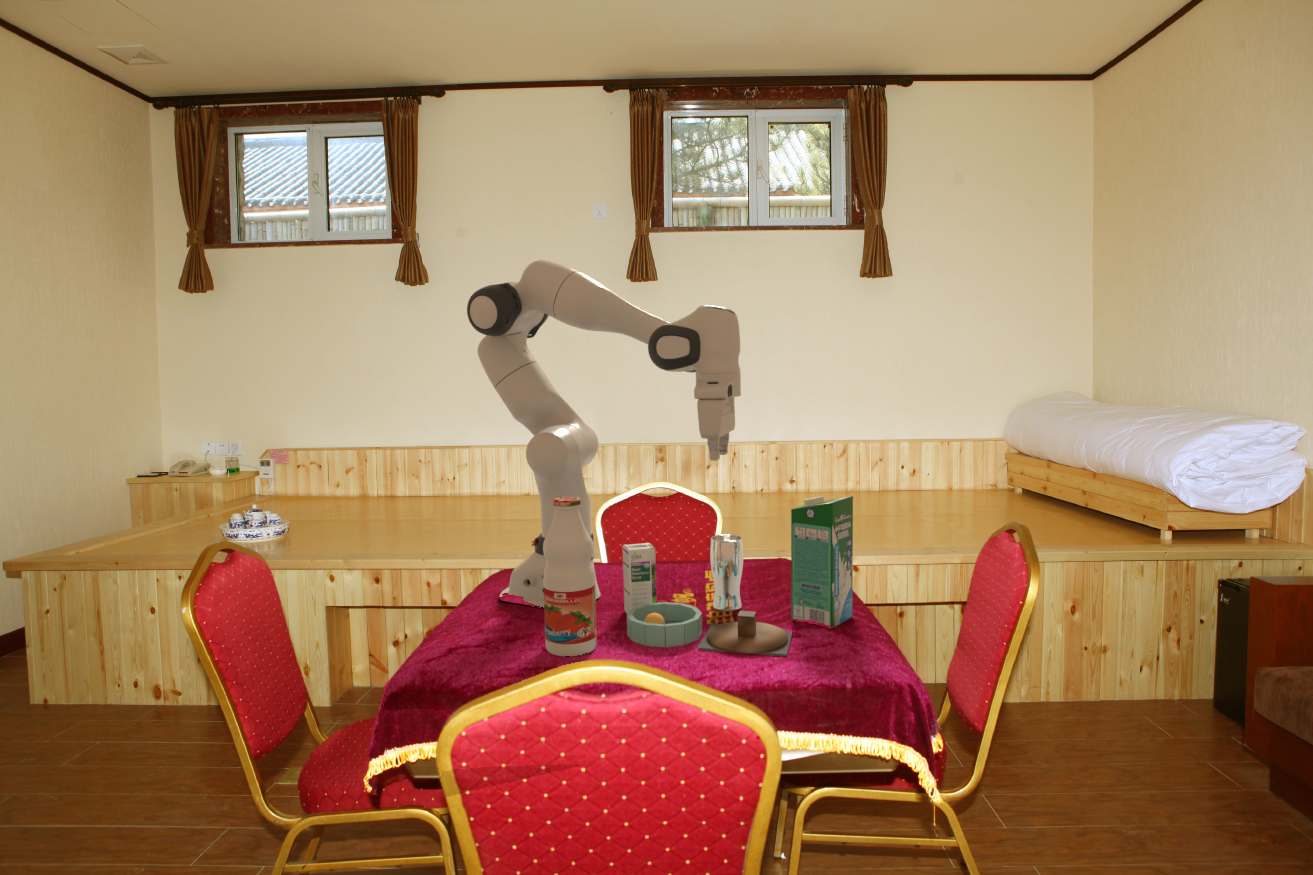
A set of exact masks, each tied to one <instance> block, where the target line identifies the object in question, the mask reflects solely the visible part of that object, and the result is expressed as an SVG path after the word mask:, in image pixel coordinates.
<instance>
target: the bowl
mask: <svg viewBox="0 0 1313 875" xmlns="http://www.w3.org/2000/svg"><path fill="white" fill-rule="evenodd" d="M651 613H658V614H660V615H661V616H662V617H663V618H664V621H665V624H653V623H646V622H644V620H645V618H646V617H647V615H649V614H651ZM701 633H702V634H703V613H702V611H700V610H699V608H697V607H696V606H693V605H690V604H686V603H682V602H669V601H667V602H665V601H663V602H657V603H651V604H644V605H641V606H638V607H635V608H632V609H631V610H630V611H629V612H628V614H627V613H626V634H627V637H628V638H629V637H630V638H629V640H630V641H631V640H632V641H631V642H633V641H634V642H633V643H636V644H639V645H641V646H645V647H658V648H670V647H680V646H686V645H689V644H691V643H694V642H696V641H698V640H700V638H701V636H702V634H701ZM700 635H701V636H700ZM699 637H700V638H699ZM697 639H698V640H697Z"/></svg>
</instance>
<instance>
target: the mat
mask: <svg viewBox="0 0 1313 875" xmlns="http://www.w3.org/2000/svg"><path fill="white" fill-rule="evenodd" d="M717 625H718V624H710V625H709V628H708V629H707V630H706V633H705V635H704V636H703V638H702V640H701V642H700V643H699V645H698V646H697V650H698V651H709V652H710V651H711V652H722V653H730V652H729V651H725V650H722V649H719V648H716V647H714V646H712V645H711V644H710V643H709V642H708V641H707V632H708V631H709V630H710V629H711V628H712V627H714V626H717ZM782 629H783V630H784V631H785V630H787V631H785V632H786V633H787V632H788V630H789V629H787V628H782ZM787 635H788V641H787V643H786V644H785V645H784V646H783V647H781V648H779V649H777V650H773V651H769V652H763V653H746V655H747V654H748V655H759V656H760V655H761V656H775V657H776V656H777V657H785V658H786V657H788V653H789V649H790V646H791V642H792V638H793V634H792V633H789V632H788V633H787ZM791 637H792V638H791ZM732 653H735V652H732Z"/></svg>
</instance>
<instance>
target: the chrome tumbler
mask: <svg viewBox="0 0 1313 875" xmlns="http://www.w3.org/2000/svg"><path fill="white" fill-rule="evenodd" d="M743 547H744V546H743V537H742V536H740V535H738V534H731V533H730V534H729V533H726V534H716V535H713V536H711V537H710V549H709V550H710V552H709V554H710V557H709V558H710V561H709V562H710V569H711V576H712V579H713V586H714V597H713V603H712V608H713V609H715V610H717V611H721V612H733V611H738V610H741V609H742V600H741V595H740V594H741V593H740V590H741V588H740V586H741V579H742V574H743V566H744V548H743Z"/></svg>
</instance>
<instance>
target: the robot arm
mask: <svg viewBox="0 0 1313 875" xmlns="http://www.w3.org/2000/svg"><path fill="white" fill-rule="evenodd" d="M466 315H467V318H468V322H469V324H471V326H472V327H473V329H474V330H475V331H477V332H478V333H480V334H481V335H485V336H484V337H482V339H481V341H480V342H479V343H478V347H477V355H478V359H479V360H480V364H481V366H482V367H483V370H484V372H485V374H486V375H487V377H488V380H489V381H490V383H491V385H492V386H493V388H494V390H495V391H496V392H497V394H498V396H499V397H500V398H501V400H502V403H504V405H505V407H506V408H507V410H508V411H509V413H510V414H511V416H512V418H513V419H515V420H516V421H517V422H518V423H520V424H521V425H522V426H524V427H525V428H526V429H527V430H528V431H529V432H530V433H531V434H532V438H531V439H530V440H528V441H529V442H528V444H527V446H526V450H525V458H526V462H527V464H528V466H529V468H530V469H531V470H532V473H533V474H534V475H533V476H534V480H535V484H536V488H537V492H538V495H539V504H540V517H541V518H540V519H541V520H540V521H541V533H540V534H539V535H538V536H537V537H535V538H534V540H532V541H531V543H532V544H531V547H534V552H532V553H531V554H530V555H529V556H528V557H526V558H525V559H524V560H523V561H522V562H520V563H519V564H518V565H516V567H515V568H514V569H513V570H512V572H511V574H510V579H509V585H508V587H506V588H505V589H503V590H502V591H501V593H500V594H499V597H502V596H503V595H502V594H504V593H508V594H509V595H515V596H521V597H524V598H523V600H524V601H526V602H528V603H531V604H534V605H537V606H540V607H539V608H541V607H543V609H544V587H543V576H544V569H545V567H546V559H545V556H544V552H543V543H544V540H545V538H546V536H547V535H548V533H549V530H550V528H551V525H552V521H553V518H554V514H555V508H554V505H553V500H554V499H555V498H558V497H567V496H571V497H579V498H580V502H581V504H580V508H579V512H580V515H581V518H582V521H583V523H584V526H585V528H586V530H587V532H588V533H589V535H590V536H591V538H592V541H593V553H592V557H591V563H592V566H593V568H594V573H595V574H596V570H595V562H594V559H595V540H594V533H593V531H592V508H591V506H592V504H591V503H592V502H591V497H590V496H589V494H588V491H587V488H586V484H585V479H584V474H583V468H584V467H587V466H588V465H589V464H590V463H592V461H593V460H594V458H595V457H596V454H597V452H598V450H599V439H598V436H597V434H596V432H595V431H594V429H593V428H591V427H590V426H589V425H588V424H587V423H585V422H584V420H582V418H581V417H580V416H579V415H578V413H576V412H575V410H574V409H573V408H572V407H571V406H570V405H569V403H568V402H567V401H566V400H565V399H564V398H563V397H562V396H561V395H560V393H559V392H558V391H557V390H556V388H555V387H554V385H553V383H552V381H550V380H549V378H548V376H547V374H546V372H544V370H543V369H542V368H541V366H540V365H539V363H538V361H537V360H536V359H535V357H534V355H533V354H532V352H531V351H530V349H529V347H528V343H527V339H531V338H534V337H535V335H537V333H538V332H539V330H540V328H541V327H542V326H543V325H544V323H545V322H546V321H547V319H548V318H549V317H551V318H553V319H556V321H559V322H561V323H563V324H565V325H567V326H571V327H574V328H577V329H582V330H585V331H592V332H593V331H594V332H607V333H615V334H620V335H624V336H627V337H630V338H633V339H635V340H637V341H639V342H641V343H643V344H645V345H647V350H648V351H647V352H648V356H649V358H650V360H651V362H652V363H653V365H655V366H656V367H657V368H658V369H660V370H663V371H665V372H671V373H672V372H674V373H676V372H677V373H678V372H685V373H695V386H694V390H693V398H694V399H695V400H697V402H696V403H697V406H696V408H697V420H698V430H699V434H700V438H701V439H707V447H708V453H709V455H708V456H709V460H710V461H713V462H716V461H719V460H720V458H721V457H720V456H721V455H722V456H725V455H728V453H729V441H730V433H731V432H733V431H734V430H735V427H736V414H735V413H736V409H735V398H736V397H741V394H742V393H741V391H742V390H741V389H742V388H741V383H742V382H741V380H742V379H741V368H740V364H739V358H740V354H741V353H740V352H741V334H740V323H739V318H738V315H737V314H736V313H735V311H734V310H732V309H730V308H729V307H723V306H717V305H712V304H703V305H700V306H698V307H697V308H696V309H695V310H694V311H692V312H691V313H690V314H688V315H685V316H684V317H682V318H679V319H677V320H675V321H673V322H671V321H668V320H666V319H664V318H662V317H659V316H657V315H654V314H653V313H651V312H648V311H646V310H644V309H642V308H640V307H637V306H636V305H633V304H632V303H630V302H629V301H627V300H626V299H624V298H623V297H621V296H620V295H618V293H617V294H616V293H615V292H614V291H612V290H610V288H608V287H607V286H606V285H605V286H604V284H602V283H600V282H599V281H597V280H595V279H594V278H592V277H590V276H589V275H587V274H585V273H583V272H581V271H579V270H576V269H575V268H572V267H569V266H566V265H563V264H561V263H557V262H555V261H554V262H553V261H550V260H545V259H544V260H543V259H538V260H534V261H533V262H531V263H530V264H528V265H527V266H526V267H525V269H524V271H523V273H522V274H521V277H520V280H519V281H518V282H513V281H511V282H510V281H509V282H508V281H507V282H504V283H497V284H489V285H487V286H483V287H481V288H479V289H478V290H476V291H475V292H474V293H473V294H472V295H470V297H469V300H468V301H467V305H466ZM601 595H602V594H601V591H600V589H599V585H598V581H597V576H596V575H595V600H596V601H597V599H599V598H600V597H601Z"/></svg>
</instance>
